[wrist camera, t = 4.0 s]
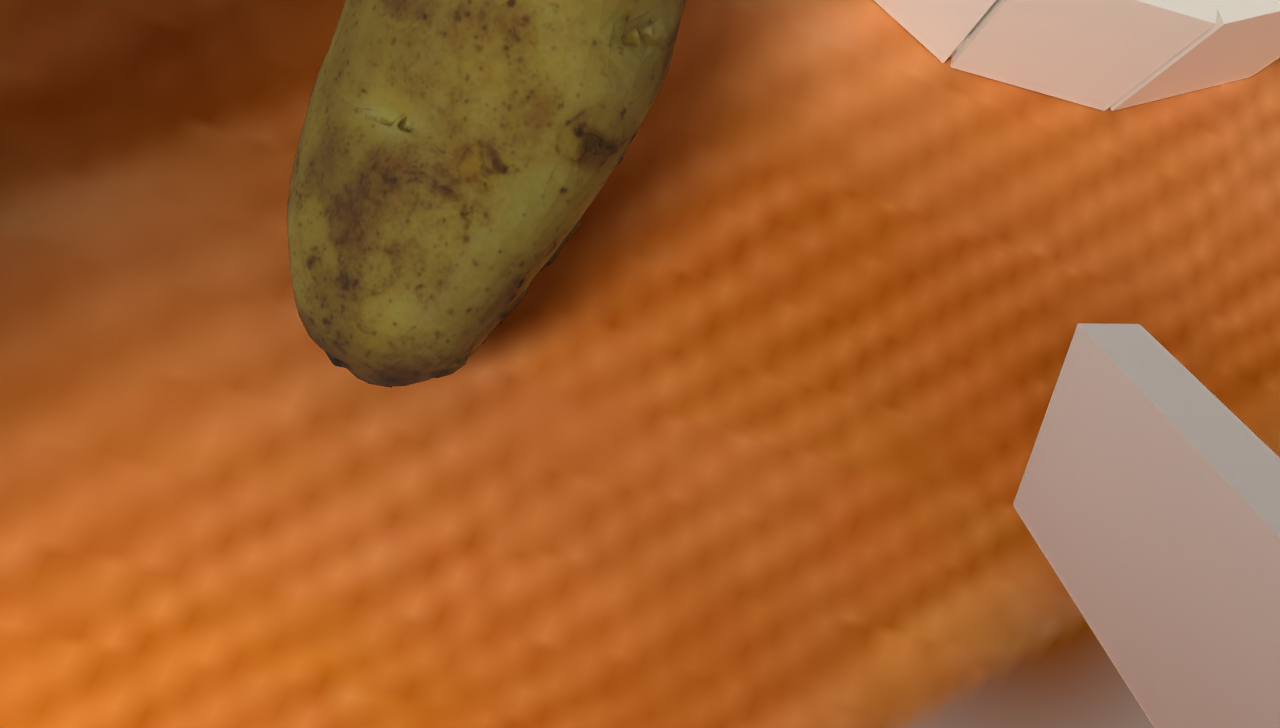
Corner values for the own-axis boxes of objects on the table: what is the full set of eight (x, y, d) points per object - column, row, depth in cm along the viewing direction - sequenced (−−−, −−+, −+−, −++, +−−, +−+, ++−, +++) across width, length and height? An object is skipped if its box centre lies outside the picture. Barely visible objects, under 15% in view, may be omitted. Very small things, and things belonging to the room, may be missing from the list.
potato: (171, 208, 24) (-2, 30, 16) (542, -101, 27) (550, -378, 19) (413, 444, 23) (358, 382, 15) (764, 103, 26) (866, -95, 18)
